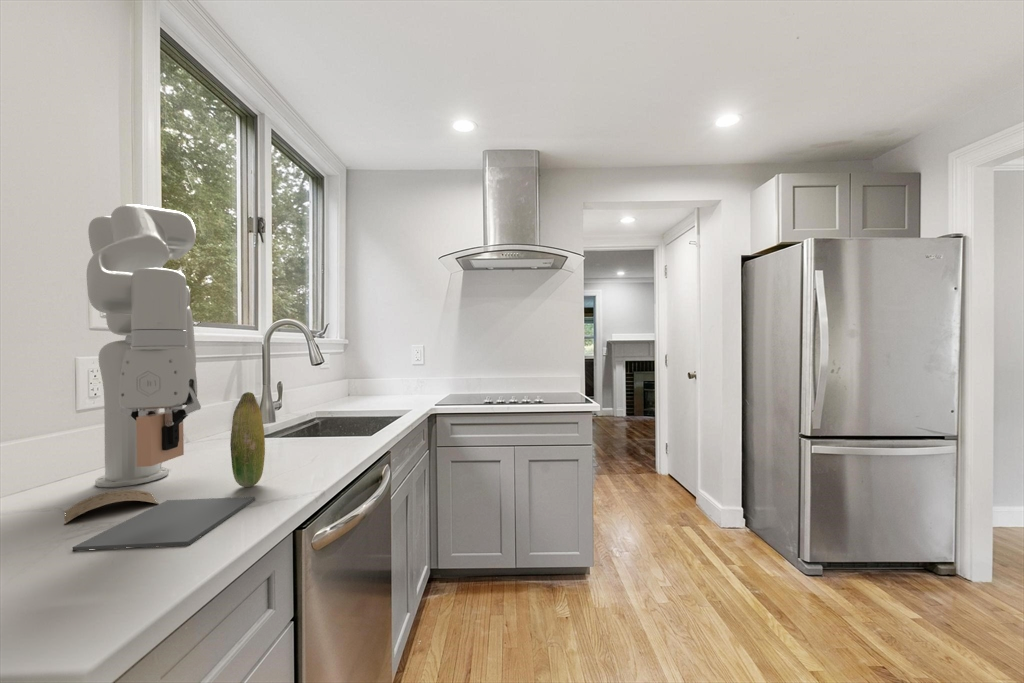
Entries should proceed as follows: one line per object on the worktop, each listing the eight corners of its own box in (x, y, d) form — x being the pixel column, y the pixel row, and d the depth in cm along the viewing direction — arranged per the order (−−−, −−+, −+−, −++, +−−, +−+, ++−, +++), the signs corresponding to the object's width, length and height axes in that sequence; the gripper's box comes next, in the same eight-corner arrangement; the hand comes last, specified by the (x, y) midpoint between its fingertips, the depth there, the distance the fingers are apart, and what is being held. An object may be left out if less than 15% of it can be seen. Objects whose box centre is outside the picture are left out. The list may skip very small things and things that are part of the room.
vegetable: (272, 484, 96) (271, 391, 96) (248, 493, 90) (247, 394, 90) (249, 482, 98) (248, 390, 98) (224, 491, 92) (223, 393, 92)
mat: (167, 503, 85) (167, 500, 85) (254, 499, 86) (254, 496, 86) (72, 551, 65) (72, 547, 65) (188, 545, 66) (188, 541, 66)
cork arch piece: (59, 530, 75) (59, 513, 75) (55, 515, 81) (55, 500, 81) (167, 506, 85) (167, 492, 85) (156, 495, 92) (155, 482, 92)
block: (170, 455, 80) (170, 410, 80) (183, 454, 80) (183, 410, 81) (136, 466, 72) (136, 417, 72) (151, 466, 72) (150, 416, 73)
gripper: (91, 342, 72) (92, 456, 72) (195, 339, 74) (196, 452, 73) (127, 342, 80) (128, 446, 80) (221, 340, 81) (222, 442, 81)
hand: (161, 448), depth 76 cm, fingers closed on block, 2 cm apart
